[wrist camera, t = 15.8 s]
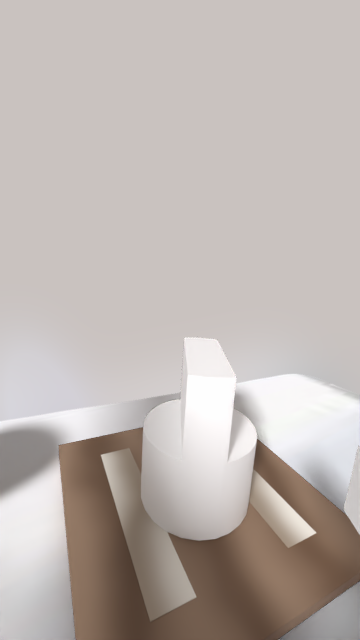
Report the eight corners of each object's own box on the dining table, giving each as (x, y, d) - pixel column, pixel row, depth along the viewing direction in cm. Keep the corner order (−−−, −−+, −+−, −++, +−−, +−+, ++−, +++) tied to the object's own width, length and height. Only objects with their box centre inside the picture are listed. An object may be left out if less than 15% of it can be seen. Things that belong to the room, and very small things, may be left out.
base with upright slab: (146, 451, 28) (151, 335, 26) (236, 455, 28) (249, 340, 26) (132, 538, 19) (137, 373, 17) (263, 543, 19) (286, 381, 17)
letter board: (87, 774, 11) (87, 760, 11) (58, 452, 28) (58, 444, 28) (386, 561, 20) (389, 551, 19) (223, 415, 37) (223, 409, 37)
